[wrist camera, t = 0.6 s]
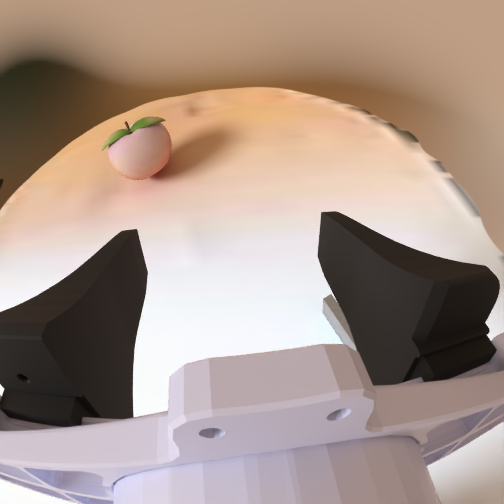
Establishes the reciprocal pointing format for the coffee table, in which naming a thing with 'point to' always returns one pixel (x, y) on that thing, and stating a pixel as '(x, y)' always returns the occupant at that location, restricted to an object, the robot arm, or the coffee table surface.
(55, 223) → the coffee table surface
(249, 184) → the coffee table surface
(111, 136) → the decorative fruit
